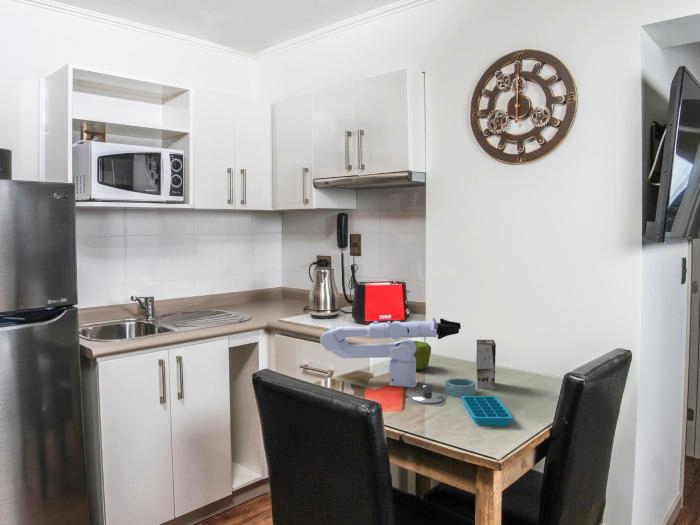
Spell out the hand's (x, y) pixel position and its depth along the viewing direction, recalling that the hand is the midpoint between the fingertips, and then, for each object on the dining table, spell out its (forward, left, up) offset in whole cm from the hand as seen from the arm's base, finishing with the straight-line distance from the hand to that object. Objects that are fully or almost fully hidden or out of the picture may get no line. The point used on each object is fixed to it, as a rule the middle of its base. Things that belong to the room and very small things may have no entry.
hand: (459, 327), depth 191 cm
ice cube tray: (+10, -25, -22) cm, 35 cm away
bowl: (+1, -6, -22) cm, 23 cm away
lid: (-9, -16, -21) cm, 28 cm away
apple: (-19, +23, -22) cm, 37 cm away
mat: (-9, -16, -22) cm, 28 cm away
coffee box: (+9, +6, -22) cm, 24 cm away
